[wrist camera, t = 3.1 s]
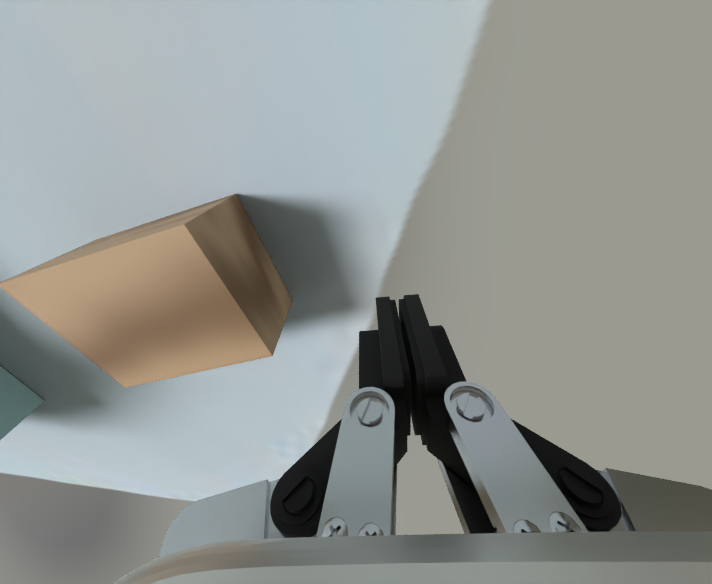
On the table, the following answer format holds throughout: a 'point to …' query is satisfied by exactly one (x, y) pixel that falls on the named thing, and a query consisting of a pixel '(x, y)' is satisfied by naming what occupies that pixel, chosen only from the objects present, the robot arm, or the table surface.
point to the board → (14, 402)
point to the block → (164, 295)
